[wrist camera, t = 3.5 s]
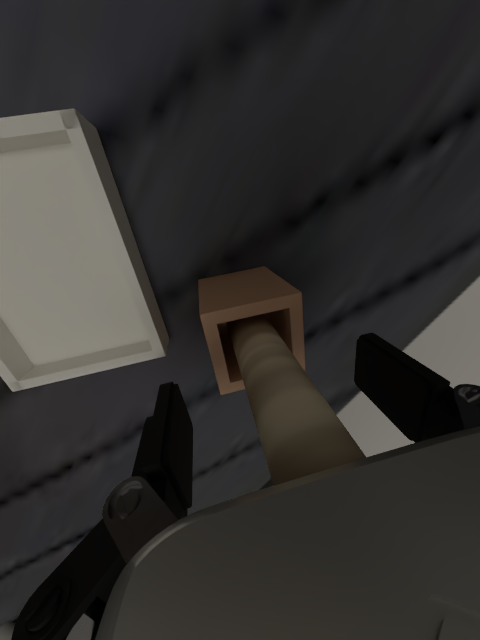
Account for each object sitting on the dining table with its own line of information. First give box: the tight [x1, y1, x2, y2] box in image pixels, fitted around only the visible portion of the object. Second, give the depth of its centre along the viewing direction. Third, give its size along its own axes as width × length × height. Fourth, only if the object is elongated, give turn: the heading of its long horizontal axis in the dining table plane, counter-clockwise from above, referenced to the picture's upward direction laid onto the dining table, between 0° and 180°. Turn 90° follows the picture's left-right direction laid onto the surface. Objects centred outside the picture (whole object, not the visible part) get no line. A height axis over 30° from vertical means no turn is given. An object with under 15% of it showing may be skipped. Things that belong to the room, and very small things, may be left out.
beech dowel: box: [226, 314, 366, 486], centre depth 13 cm, size 3×3×16 cm
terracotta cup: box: [198, 266, 305, 395], centre depth 18 cm, size 6×6×8 cm
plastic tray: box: [0, 108, 169, 392], centre depth 16 cm, size 16×12×3 cm
